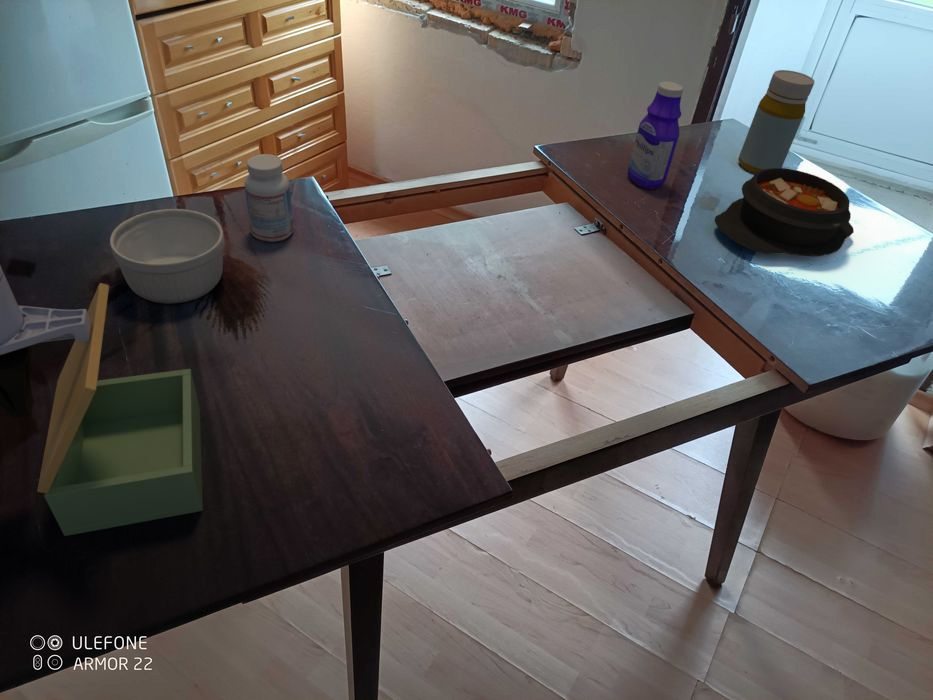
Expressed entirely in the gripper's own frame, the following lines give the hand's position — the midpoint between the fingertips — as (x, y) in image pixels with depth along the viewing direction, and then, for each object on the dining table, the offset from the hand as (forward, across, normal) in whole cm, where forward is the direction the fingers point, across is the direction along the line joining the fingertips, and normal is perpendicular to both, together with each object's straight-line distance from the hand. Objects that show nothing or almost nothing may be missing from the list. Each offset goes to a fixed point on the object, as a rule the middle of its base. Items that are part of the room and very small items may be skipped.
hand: (23, 409), depth 59 cm
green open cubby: (+10, +7, 0) cm, 12 cm away
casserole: (+11, +105, +28) cm, 109 cm away
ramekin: (+10, +11, +31) cm, 34 cm away
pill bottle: (+10, +24, +41) cm, 48 cm away
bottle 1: (+11, +90, +48) cm, 103 cm away
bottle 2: (+12, +117, +50) cm, 128 cm away
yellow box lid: (-2, +5, 0) cm, 5 cm away
